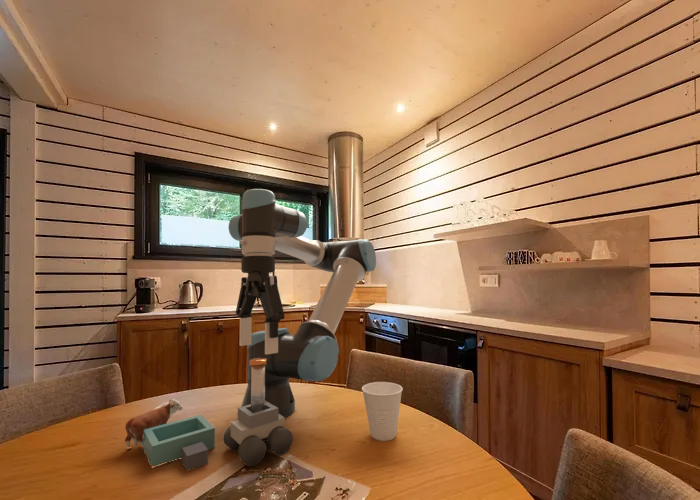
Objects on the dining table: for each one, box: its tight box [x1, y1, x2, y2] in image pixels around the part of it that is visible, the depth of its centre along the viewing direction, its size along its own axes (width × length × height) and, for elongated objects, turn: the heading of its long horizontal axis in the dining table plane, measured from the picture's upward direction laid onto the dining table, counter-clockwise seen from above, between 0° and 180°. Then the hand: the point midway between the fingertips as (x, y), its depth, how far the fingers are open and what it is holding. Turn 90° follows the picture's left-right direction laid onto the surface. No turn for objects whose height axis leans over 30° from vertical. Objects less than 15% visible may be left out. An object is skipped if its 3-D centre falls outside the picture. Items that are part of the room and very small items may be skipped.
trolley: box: [223, 401, 294, 467], centre depth 73 cm, size 11×11×9 cm
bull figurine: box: [124, 398, 184, 448], centre depth 79 cm, size 4×13×8 cm, turn 153°
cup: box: [361, 381, 404, 442], centre depth 79 cm, size 10×10×11 cm
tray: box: [142, 414, 216, 468], centre depth 75 cm, size 10×12×4 cm
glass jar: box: [250, 358, 267, 413], centre depth 74 cm, size 4×4×13 cm
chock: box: [181, 442, 209, 471], centre depth 69 cm, size 4×4×3 cm
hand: (257, 349), depth 75 cm, fingers open, 13 cm apart
